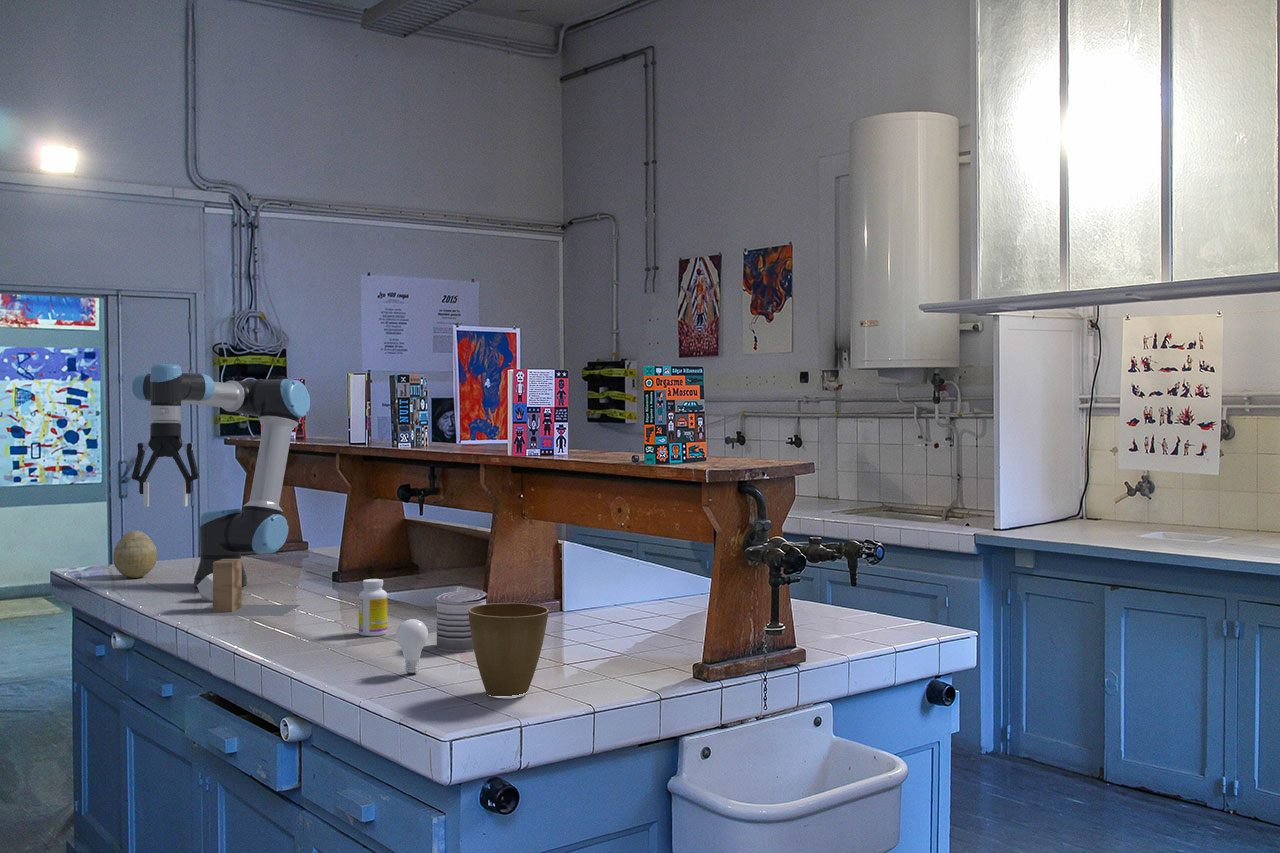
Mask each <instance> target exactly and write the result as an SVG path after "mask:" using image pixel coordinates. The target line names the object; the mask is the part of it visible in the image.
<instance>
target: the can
mask: <svg viewBox="0 0 1280 853" xmlns="http://www.w3.org/2000/svg"><path fill="white" fill-rule="evenodd" d="M488 595H489V594H488V593H487V592H485V591H483V590H469V589H468V590H466V589H463V590H456V591H450V592H444V593H442V594H440V595H438V596H436V597H435V598H434V599H435V600H436V649H437V650H438V651H443V652H446V651H447V652H448V653H467V652H466V651H469V652H474V651H473V650H474V647H473V642H472V637H471V630H470V622H469V613H468V609H469V608H471V607H473V606H477V605H484V604H487V598H486V596H488Z"/></svg>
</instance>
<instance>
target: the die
mask: <svg viewBox="0 0 1280 853" xmlns="http://www.w3.org/2000/svg"><path fill="white" fill-rule="evenodd" d="M197 587H198V588H197V590H198V592H199V594H200V597H201V599H202V601H203V602H211V603H213V573H211V574H209V575H208V576H206V577H205V578H204V579H203V580H202V581H201V582H200V583H199V584H198V585H197Z"/></svg>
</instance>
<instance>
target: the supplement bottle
mask: <svg viewBox="0 0 1280 853" xmlns="http://www.w3.org/2000/svg"><path fill="white" fill-rule="evenodd" d="M383 585H384V579H381V578H380V579H379V578H369V579H363V580H362V586H363V590H361V591H360V592H359V595H358V634H359V635H360V636H363V637H379V636H384V635H386V634H387V633H388V593H387V591H386V590H384V589H383Z"/></svg>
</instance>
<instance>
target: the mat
mask: <svg viewBox="0 0 1280 853" xmlns="http://www.w3.org/2000/svg"><path fill="white" fill-rule="evenodd" d="M300 606H301V604H242V608H240V609H238V610H236V611H234V612H213V604H210V605H209V606H205V607H204V608H201V609H199V610H198V611H195V612H193V613H191V614H189V616H201V617H202V616H212V617H213V616H216V617H217V616H222V617H224V616H232V617H235V616H238V617H241V616H244V617H245V616H247V617H252V616H254V617H257V616H258V617H259V616H260V617H261V616H262V617H263V616H264V617H268V616H269V617H270V616H271V617H272V616H273V617H276V616H277V617H279V616H281V617H283V616H284V615H286V614H288V613H290V612H292V611H294V609H297V608H298V607H300Z"/></svg>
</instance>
